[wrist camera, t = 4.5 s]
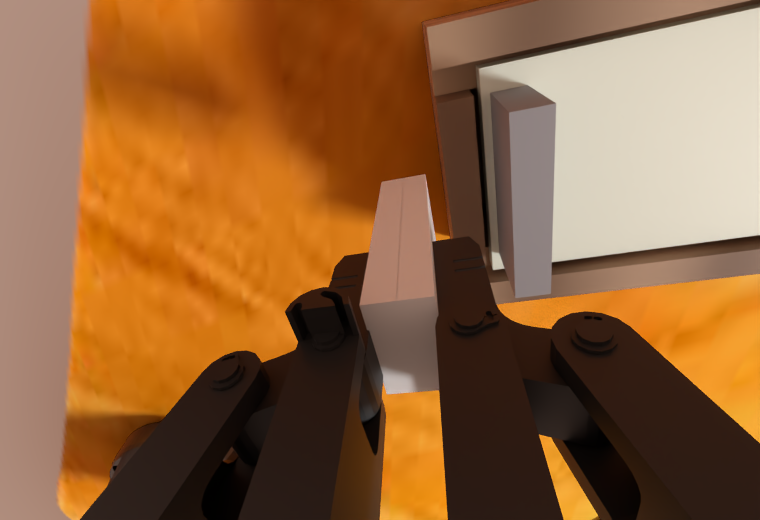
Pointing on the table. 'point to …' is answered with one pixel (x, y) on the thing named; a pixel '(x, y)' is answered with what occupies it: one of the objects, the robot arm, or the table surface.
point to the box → (463, 138)
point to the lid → (622, 144)
